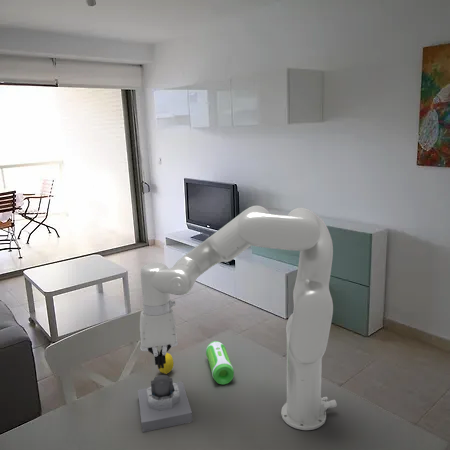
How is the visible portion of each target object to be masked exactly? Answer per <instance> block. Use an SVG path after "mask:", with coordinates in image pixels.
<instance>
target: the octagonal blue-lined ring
mask: <svg viewBox="0 0 450 450" xmlns="http://www.w3.org/2000/svg"><path fill="white" fill-rule="evenodd" d="M176 383H177V382H173V390H171V391H170V395H169V396H165V397H160V398H159V397H157V396H155V393H152V390H151V385H150V386H149V387H147V388H148V389H147V398H148V405H149V408H152V409H154V410H157V411H163V410H168V409H172V408H173V407H174V406H175V405H177V404H178V403H179V402H180V397H179V389H178V385H177V384H176Z"/></svg>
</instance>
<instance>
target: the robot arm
mask: <svg viewBox="0 0 450 450" xmlns="http://www.w3.org/2000/svg"><path fill="white" fill-rule="evenodd" d="M332 239H333V238H332V236H331V234H330V231H329V229H328V226H327V225H326V223H325V221H323V219H322V218H321V217H320V216H319V215H318V214H316V213H315V212H314V211H312V210H311V209H308V208H305V207H296V208H294V209H292V210H291V211H289V213H287V215H285V214H284V215H283V214H276V213H275V214H273V213H270V211H268V209H267V208H265V207H263V206H261V205H252V206H250V207H248V208H246V209H245V210H243V211H242V212H241V213H239V214H238V215H237V216H235V217H234V218H232V219H231V220H230V221H229V222H228V223H226V224H225V225H223V226H222V227H221V228H219V229H218V230H217V231H216V232H214V233H212V235H210V236H208V237H207V238H206V239H205V240H204V241H202V242H200V243H199V244H198V245H196V246H195V247H194V248H193V249H191V250H189V251H188V252H187V253H186V254H185V255H183V256H182V257H181V258H180V259H178V260H177V261H176V262H175V264H173V266H172V267H170V268H168V266H167V265H166V263H165V264H164V263H162V262H151V263H146V264H145V265H143V266H142V267H141V269H140V282H141V294H142V295H141V297H142V309H143V310H141V311H140V314H139V315H140V316H139V338H140V347H139V348H140V351H141V352H149V353H151V355H153V356H154V365H155V366H157V365H158V366H157V368H158V370H159V369H160V368H164V364H165V363H166V358H165V355H166V353H168V352H169V351H170V350H171V348H173V347H177V346H178V345H179V342H178V334H177V325H176V318H175V312H174V309H173V307H174V306H176V301H175V300H171V295H175V296H185V295H186V294H188V293H190V292H191V290H192V288H193V287H194V285H195V283H196V281H197V280H198V278H199V277H200V276H201V275H203V274H205V272H207V271H208V270H209V269H211V268H212V267H213V266H215V265H217V264H219V263H228V262H231V261H233V260H234V259H235V258H237V257H238V256H239V255H240V254H242V253H244V251H246V250H247V249H249V248H250V247H251V246H252V247H259V248H266V249H276V250H285V251H298V252H299V256H298V258H299V259H298V265H297V273H296V276H295V277H296V278H295V284H294V286H293V292H292V298H293V300H292V301H293V310H292V312H293V313H291V314H290V316H289V317H288V319H287V322H286V326H285V327H286V328H285V331H286V402H285V403H284V404H283V405H282V407H281V411H280V413H281V414H280V415H281V418H282V420H283V422H285V423H286V424H287V425H288V426H290V427H292V428H294V429H296V430H302V431H311V430H316V429H319V428H321V427H322V426H323V425H324V424H325V423H326V420H327V413H326V411H327V409H332V408H336V407H337V405H338V404H337V401H336V399H331V400H329V398H328V396H323V397H322V365H323V364H322V362H323V361H322V360H323V356H324V354H325V353H326V349H327V347H328V341H329V337H330V331H331V326H332V320H333V315H334V303H333V298H332V294H331V292H330V280H331V273H332V265H333V264H332V263H333V259H334V258H333V257H334V256H333V255H334V247H333V246H334V245H333V240H332ZM158 347H161V348H160V350H158V349H157V348H158Z"/></svg>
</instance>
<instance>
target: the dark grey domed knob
mask: <svg viewBox="0 0 450 450" xmlns="http://www.w3.org/2000/svg"><path fill="white" fill-rule="evenodd" d="M173 381H174V380H173V377H170V376H168V375H167V374H159V375H157V376H155V377H154V379H153V380H151V381H150V386H151V390H152V393H155V396H157V397H159V398H160V397H165V396H169V395H170V391H171V390H173V383H174V382H173Z"/></svg>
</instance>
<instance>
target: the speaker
mask: <svg viewBox="0 0 450 450" xmlns="http://www.w3.org/2000/svg"><path fill="white" fill-rule="evenodd" d="M205 355H206V358H207V361H208V365H209V367H210V370H211V371H210V372H211V376H212V378H213V380H214V381H215V382H216V383H217V384H219V385H228V384H229V383H230V382H232V380H233V379H234V375H235V374H234V373H235V371H234V370H235V369H234V367H233V364H232V363H231V360H230V358H229V354H228V352H227V348H226V346H225V345H224V344H223V343H222V342H220V341H217V340H213V341H211V342H210V343H209V344H208V345H207V346H206V350H205Z"/></svg>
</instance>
